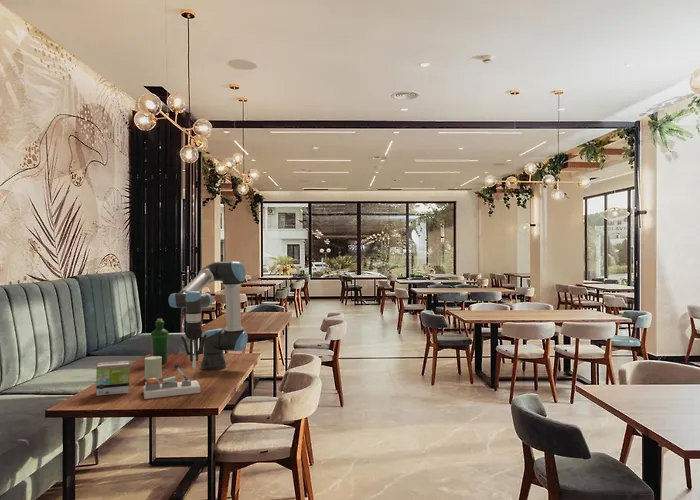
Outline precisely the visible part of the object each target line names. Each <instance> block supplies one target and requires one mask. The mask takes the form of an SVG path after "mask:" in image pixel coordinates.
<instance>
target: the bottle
mask: <svg viewBox="0 0 700 500" xmlns="http://www.w3.org/2000/svg"><path fill="white" fill-rule="evenodd" d="M154 325H155V327H156V328H155V329H154V330H153V331H151V333H150V342H151V357H152V356H160V357H162V364H163V365H164V364H166V363H167V362H168V354H169V352H168V351H169V350H168V349H169V348H168V347H169V331H168V330H167V329H165V328H164V325H165V321H164V320H163V318H157V319H156V321H155V323H154Z"/></svg>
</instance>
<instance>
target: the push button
mask: <svg viewBox="0 0 700 500" xmlns="http://www.w3.org/2000/svg"><path fill="white" fill-rule="evenodd" d="M158 381H159V379H157V378H148V380H147V382H148V384H157V383H158Z"/></svg>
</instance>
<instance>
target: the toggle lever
mask: <svg viewBox="0 0 700 500" xmlns="http://www.w3.org/2000/svg"><path fill="white" fill-rule="evenodd" d="M173 368H174V369H175V370H177V371H178V372H179V374H180V375H181V376H182V378H184V379H183V380H188V379H189V378H188V376H187V375H186V374H185V373H184V372H183V370H181V368H180V367H179V364H177V363H176V364H174V366H173Z"/></svg>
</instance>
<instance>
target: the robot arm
mask: <svg viewBox="0 0 700 500" xmlns="http://www.w3.org/2000/svg"><path fill="white" fill-rule="evenodd" d="M245 279H246V269H245V266H244V263H242V262H240V261H215V262H212V263H210V264H208V265H206V266H205V267H203V268H201V270H199V272H198V274H197V275H196V276H195V277H194V278H193V279H192V280H191V281H190V282H189V283H187V285H186V286H184V287H183V289H181V290H180V291H179V292H178V293H177V292H174V293H171V294H170V295H169V296H168V304H169V306H170V307H171V308H175V309H176V308H177V309H178V308H179V309H180V308H181V309H183V308H184V309H185V322H186V323H185V332H184V334H182V335H181V336H180V339H181V340H182V341H183V342H182V343H183V345H184V349H185V353H186V355H188V356H189V361H190V362H191V363H192V366H191V367H192V369H196V368H197V362H198V361H199V355H200V354H202V352H203V356H202V359H201V362H200V369H201V370H204V371H206V370H207V371H215V370H221V369H225V368H226V367H227V362H226V358H225V356H224V352H225V351H228V352H231V351H232V352H239V351H240V352H241V351H243V350H245V348H246V346H247V343H248V338H249V336H248V332H247V331H245V328H244V326H242V317H241V315H242V312H241V288H240V287H241V286H242V284H243V282H244V281H245ZM213 282H222V286H224V289H225V290H224V292H225V317H226V321H225V322H226V327H224V328H221V327H220V328H215V329H214V328H213V329H209V330H204V332H203V330H202V322H201V321H202V309H204V308H205V309H206V308H208V307H210V306H211V305H212V304H213V301H214V299H213V296H212V294H210V293H208V292H201V291H203V289H204V288H206V286H207V285H210V284H212V283H213ZM200 338H201V340H200V345H199V339H200ZM186 339H188V340H189V348H188V345H187V344H188V343H187V341H186ZM193 346H194V347H193ZM194 352H195V353H194Z"/></svg>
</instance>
